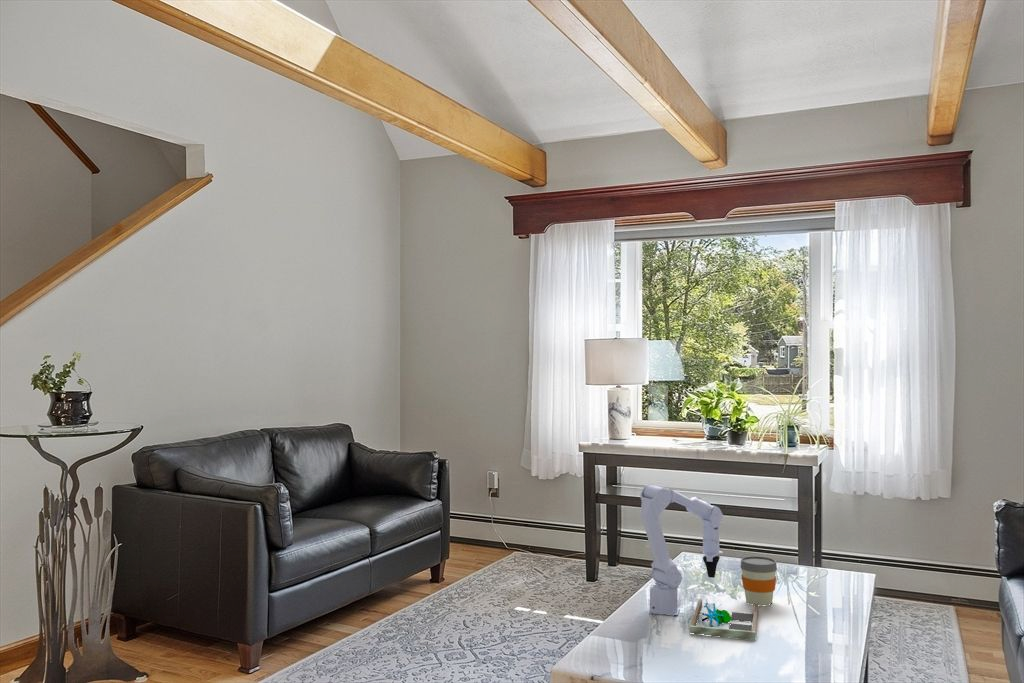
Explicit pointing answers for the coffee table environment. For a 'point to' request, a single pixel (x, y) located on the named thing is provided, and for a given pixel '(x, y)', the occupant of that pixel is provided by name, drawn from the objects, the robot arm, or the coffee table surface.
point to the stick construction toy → (717, 615)
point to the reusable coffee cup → (758, 579)
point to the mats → (741, 618)
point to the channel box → (721, 631)
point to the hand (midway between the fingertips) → (711, 577)
